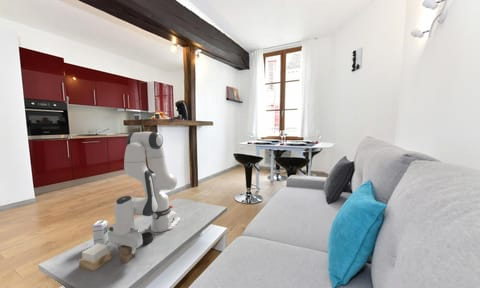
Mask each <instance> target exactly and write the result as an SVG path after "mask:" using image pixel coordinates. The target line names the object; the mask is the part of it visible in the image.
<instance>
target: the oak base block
mask: <svg viewBox="0 0 480 288" xmlns="http://www.w3.org/2000/svg"><path fill="white" fill-rule="evenodd" d="M112 254H113V253H112V251H109V253H108V254H106V255H105V256H103V257H102V258H100V259H99V260H97V261H96V262H94V263H93V262H90V261H86V260H83V258H81V259H79V260H78V264H79V265H78V266H79V268H83V269H86V270H88V271H92V272H95V271H96V270H97V269H99V268H100V267H101V266H103V265H104V264H106V263H107V262H108V261H110V260H112V258H113V255H112Z"/></svg>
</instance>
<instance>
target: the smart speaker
mask: <svg viewBox="0 0 480 288" xmlns="http://www.w3.org/2000/svg"><path fill="white" fill-rule="evenodd" d="M141 235H142V240H143V244H142V245H141V246H145V245H148V244H150V243H151V242H153V240H154V232H152V231H147V232H143V233H142V232H141Z"/></svg>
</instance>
